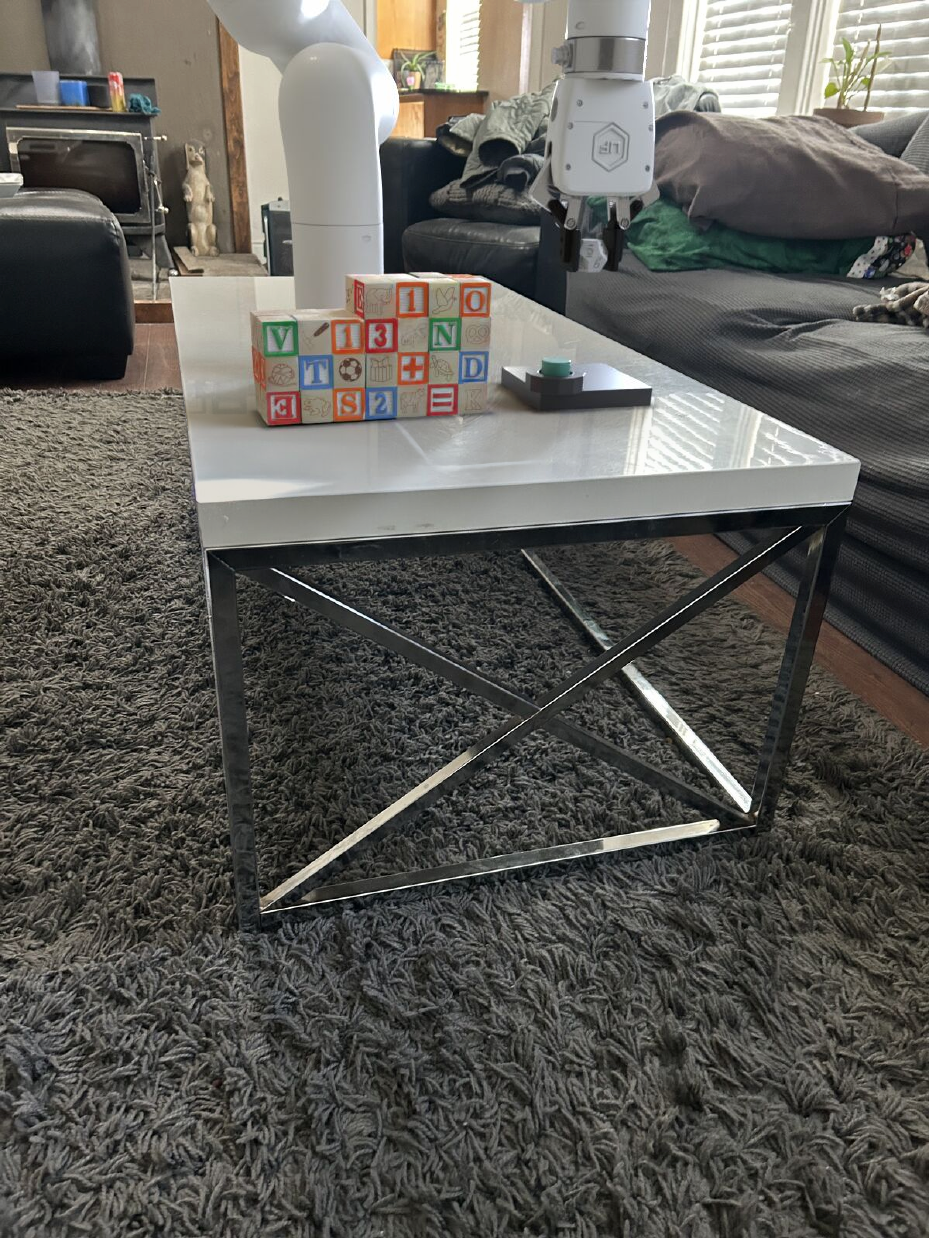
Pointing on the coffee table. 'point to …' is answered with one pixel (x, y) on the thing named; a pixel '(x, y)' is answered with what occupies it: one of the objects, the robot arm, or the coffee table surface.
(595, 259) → the game die
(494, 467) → the coffee table surface
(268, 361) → the stack of blocks
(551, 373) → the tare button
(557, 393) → the dark grey flat block
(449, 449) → the coffee table surface
